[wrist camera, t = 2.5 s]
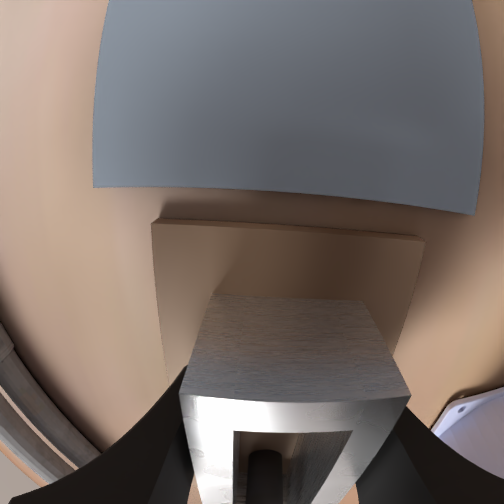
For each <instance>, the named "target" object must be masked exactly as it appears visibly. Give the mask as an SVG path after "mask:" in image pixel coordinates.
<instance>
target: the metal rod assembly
mask: <svg viewBox="0 0 504 504" xmlns="http://www.w3.org/2000/svg"><path fill="white" fill-rule="evenodd" d="M13 347H14V344H13V342H12V341H11V339H10V337H9V335H8V334H7V332H6V330H5V329H4V327H3V325H2V324H1V322H0V385H1V387H2V388H3V389H4V391H5V392H6V393H7V394H8V396H9V397H10V398H11V399H12V401H13V402H14V403H15V404H16V406H17V407H18V408H19V409H20V410H21V411H22V413H23V414H24V415H25V416H26V417H27V418H28V419H29V420H30V422H31V423H32V424H33V425H34V426H35V427H36V428H37V429H38V430H39V431H40V432H41V433H42V434H43V435H44V436H45V437H46V438H47V439H48V440H49V441H50V442H51V443H52V444H53V445H54V446H55V447H56V448H57V449H58V450H59V451H60V452H61V453H62V454H64V455H65V456H66V457H67V458H68V459H69V460H70V461H71V462H72V463H74V464H75V465H76V466H77V467H78V468H81V467H82V466H84V465H86V464H87V463H89V462H90V461H91V460H93V459H94V458H96V457H97V456H99V455H100V454H101V453H100V452H99V451H98V450H97V449H96V448H95V447H94V446H93V445H92V444H91V443H90V442H89V441H88V440H87V439H86V438H85V437H84V436H83V435H82V434H81V433H80V432H79V431H78V430H77V429H76V428H75V427H74V426H73V425H72V424H71V423H70V422H69V421H68V419H67V418H66V417H65V416H64V415H63V414H62V413H61V412H60V410H59V409H58V408H57V407H56V406H55V405H54V403H53V402H52V401H51V400H50V399H49V397H48V396H47V395H46V394H45V392H44V391H43V390H42V389H41V387H40V386H39V385H38V383H37V382H36V381H35V379H34V378H33V377H32V375H31V374H30V373H29V371H28V370H27V369H26V367H25V366H24V364H23V363H22V361H21V360H20V358H19V357H18V355H17V354H16V352H15V351H14V349H13ZM0 440H1V441H2V442H3V443H4V444H5V445H6V446H7V447H8V448H9V449H10V450H11V451H12V452H13V453H14V454H15V455H16V456H17V457H18V458H20V459H21V460H22V461H23V462H24V463H25V464H26V465H27V466H28V467H29V468H31V469H32V470H33V471H34V472H35V473H36V474H38V475H39V476H40V477H41V478H42V479H44V480H45V481H46V482H47V483H49V484H51V483H53V482H55V481H57V480H59V479H61V478H63V477H65V476H66V475H68V474H70V473H72V472H74V471H75V470H74V469H73V468H72V467H71V466H70V465H68V464H67V463H66V462H65V461H64V460H63V459H62V458H61V457H59V456H58V455H57V454H56V453H55V452H54V451H53V450H52V449H51V448H50V447H49V446H48V445H47V444H46V443H45V442H44V441H43V440H42V439H41V438H40V437H39V436H38V435H37V434H36V433H35V432H34V431H33V430H32V429H31V428H30V427H29V426H28V425H27V424H26V422H25V421H24V420H23V419H22V418H21V417H20V416H19V415H18V413H17V412H16V411H15V410H14V409H13V408H12V406H11V405H10V404H9V403H8V401H7V400H6V399H5V398H4V396H3V395H2V394H1V393H0Z"/></svg>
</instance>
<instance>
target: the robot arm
mask: <svg viewBox="0 0 504 504" xmlns="http://www.w3.org/2000/svg"><path fill="white" fill-rule="evenodd" d="M187 366H188V365H186V366H185V367H184V368H183V369H182V370H181V372H180V373H179V375H178V376H177V377H176V379H175V380H174V381H173V383H172V384H171V385H170V387H169V388H168V389H167V390H166V392H165V393H164V394H163V395H162V396H161V397H160V399H159V400H158V401H157V402H156V403H155V404H154V405H153V407H152V408H151V409H150V410H149V411H148V412H147V413H146V414H145V415H144V416H143V417H142V418H141V419H140V420H139V421H138V422H137V423H136V424H135V425H134V426H133V427H132V428H131V429H130V430H129V431H128V432H127V433H126V434H125V435H124V436H123V437H121V438H120V439H119V440H118V441H117V442H116V443H114V444H113V445H112V446H111V447H109V448H108V449H107V450H106V451H104V452H103V453H101V454H100V455H99V456H97V457H96V458H94V459H93V460H91V461H90V462H89V463H87V464H86V465H84V466H82V467H81V468H79V469H77V470H76V471H74V472H72V473H70V474H68V475H66V476H65V477H63V478H61V479H59V480H57V481H55V482H53V483H51V484H49V485H46V486H44V487H41V488H39V489H36V490H33V491H31V492H28V493H25V494H22V495H19V496H16V497H13V498H12V499H11V500H10V502H9V503H8V504H187V501H188V496H189V492H190V487H191V484H192V480H193V477H194V469H193V464H192V460H191V455H190V451H189V446H188V441H187V436H186V431H185V426H184V421H183V416H182V410H181V404H180V398H179V391H180V388H181V385H182V381H183V378H184V375H185V372H186V369H187ZM355 483H356V487H357V492H358V498H359V504H504V387H502V388H499V389H495V390H492V391H489V392H485V393H482V394H478V395H474V396H471V397H467V398H463V399H459V400H455V401H453V402H451V403H450V404H449V405H448V406H447V407H446V409H445V410H444V412H443V413H442V415H441V416H440V418H439V419H438V421H437V422H436V424H435V425H434V427H433V428H432V429H431V430H430V429H429V428H427V427H426V426H425V425H424V424H423V423H422V422H421V421H420V420H419V419H418V418H417V417H416V416H415V415H414V414H413V413H412V412H411V411H410V410H409V409H408V407H407V406H405V408H404V410H403V412H402V414H401V415H400V417H399V419H398V420H397V422H396V424H395V425H394V427H393V429H392V430H391V432H390V434H389V435H388V437H387V438H386V440H385V441H384V443H383V445H382V446H381V448H380V449H379V451H378V452H377V454H376V455H375V456H374V458H373V459H372V461H371V462H370V464H369V465H368V466H367V468H366V469H365V470H364V472H363V473H362V475H361V476H360V477H359V478H358V480H357V481H356V482H355Z"/></svg>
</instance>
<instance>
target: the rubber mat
mask: <svg viewBox="0 0 504 504" xmlns="http://www.w3.org/2000/svg"><path fill="white" fill-rule="evenodd" d="M483 140H484V83H483V69H482V58H481V49H480V42H479V35H478V29H477V23H476V18H475V13H474V8H473V3H472V0H109V3H108V7H107V12H106V17H105V22H104V27H103V33H102V38H101V45H100V51H99V59H98V67H97V76H96V86H95V98H94V114H93V188H104V187H192V188H223V189H245V190H263V191H278V192H292V193H305V194H316V195H327V196H338V197H347V198H357V199H365V200H374V201H382V202H390V203H398V204H405V205H412V206H419V207H426V208H432V209H438V210H445V211H451V212H456V213H462V214H468V215H473V216H475V210H476V204H477V198H478V191H479V184H480V176H481V166H482V155H483Z"/></svg>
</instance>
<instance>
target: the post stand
mask: <svg viewBox="0 0 504 504" xmlns="http://www.w3.org/2000/svg"><path fill="white" fill-rule="evenodd" d="M151 233H152V250H153V264H154V276H155V287H156V297H157V306H158V315H159V323H160V331H161V338H162V345H163V352H164V358H165V365H166V371H167V377H168V382H169V387H170V385H171V384H172V383H173V381H174V380H175V379H176V377H177V376H178V375H179V373H180V372H181V370H182V369H183V368H184V367H185V366H186V365H188V363H189V360H190V357H191V354H192V351H193V348H194V345H195V342H196V339H197V336H198V333H199V330H200V327H201V324H202V321H203V318H204V315H205V312H206V309H207V307H208V304H209V301H210V298H211V295H212V293H218V294H231V295H246V296H261V297H279V298H298V299H322V300H352V301H363V303H364V304H365V306H366V308H367V310H368V312H369V313H370V315H371V317H372V319H373V321H374V322H375V324H376V326H377V328H378V330H379V332H380V334H381V335H382V337H383V339H384V341H385V343H386V345H387V347H388V349H389V351H390V353H391V355H392V356H393V353H394V350H395V348H396V345H397V342H398V339H399V337H400V334H401V331H402V328H403V325H404V322H405V319H406V316H407V312H408V309H409V306H410V303H411V299H412V296H413V292H414V289H415V285H416V282H417V278H418V274H419V270H420V266H421V262H422V258H423V253H424V249H425V244H426V242H425V241H424V240H422V239H421V238H419V237H418V236H412V235H402V234H391V233H381V232H370V231H358V230H346V229H334V228H321V227H307V226H293V225H279V224H263V223H246V222H228V221H208V220H187V219H162V218H158V219H157V220H155V221H154V222H153V223H151ZM298 435H299V433H276V432H252V431H240V449H239V473H248V474H247V488H246V503H245V504H283V474H286V472H287V469H288V466H289V463H290V460H291V457H292V454H293V451H294V448H295V445H296V441H297V438H298ZM192 486H194V487H198V485H197V481H196V477H195V473H194V477H193V480H192Z"/></svg>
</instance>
